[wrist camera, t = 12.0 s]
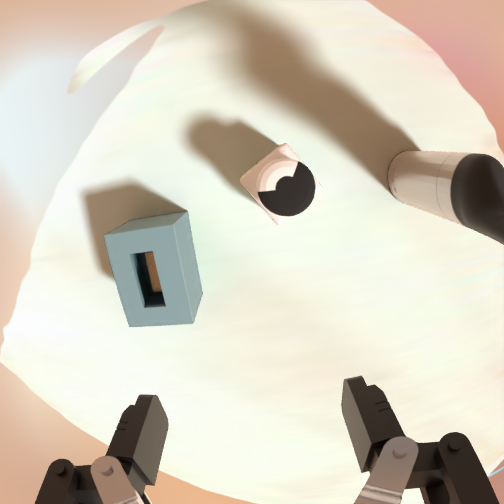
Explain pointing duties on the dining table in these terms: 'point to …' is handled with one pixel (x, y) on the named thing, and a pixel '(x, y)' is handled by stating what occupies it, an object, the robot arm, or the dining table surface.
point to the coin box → (168, 267)
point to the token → (153, 271)
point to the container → (281, 184)
